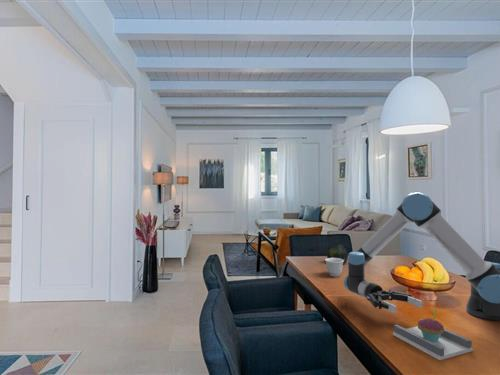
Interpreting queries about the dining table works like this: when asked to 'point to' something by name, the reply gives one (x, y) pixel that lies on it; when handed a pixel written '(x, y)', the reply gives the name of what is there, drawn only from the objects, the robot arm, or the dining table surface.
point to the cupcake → (431, 328)
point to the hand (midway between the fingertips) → (409, 307)
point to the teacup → (334, 266)
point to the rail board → (441, 349)
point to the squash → (338, 253)
